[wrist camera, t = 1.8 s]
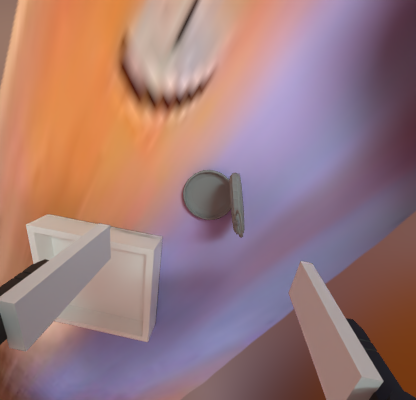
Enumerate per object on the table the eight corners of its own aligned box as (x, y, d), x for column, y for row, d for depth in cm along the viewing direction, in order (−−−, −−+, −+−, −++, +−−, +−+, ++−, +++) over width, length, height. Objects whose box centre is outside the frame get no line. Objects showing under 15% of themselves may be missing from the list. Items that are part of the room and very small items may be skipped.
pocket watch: (174, 190, 27) (144, 223, 18) (223, 148, 25) (218, 162, 15) (213, 233, 29) (204, 285, 19) (263, 198, 26) (281, 239, 17)
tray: (162, 236, 30) (154, 250, 27) (155, 322, 36) (148, 342, 33) (47, 214, 31) (25, 224, 28) (60, 301, 37) (44, 318, 34)
